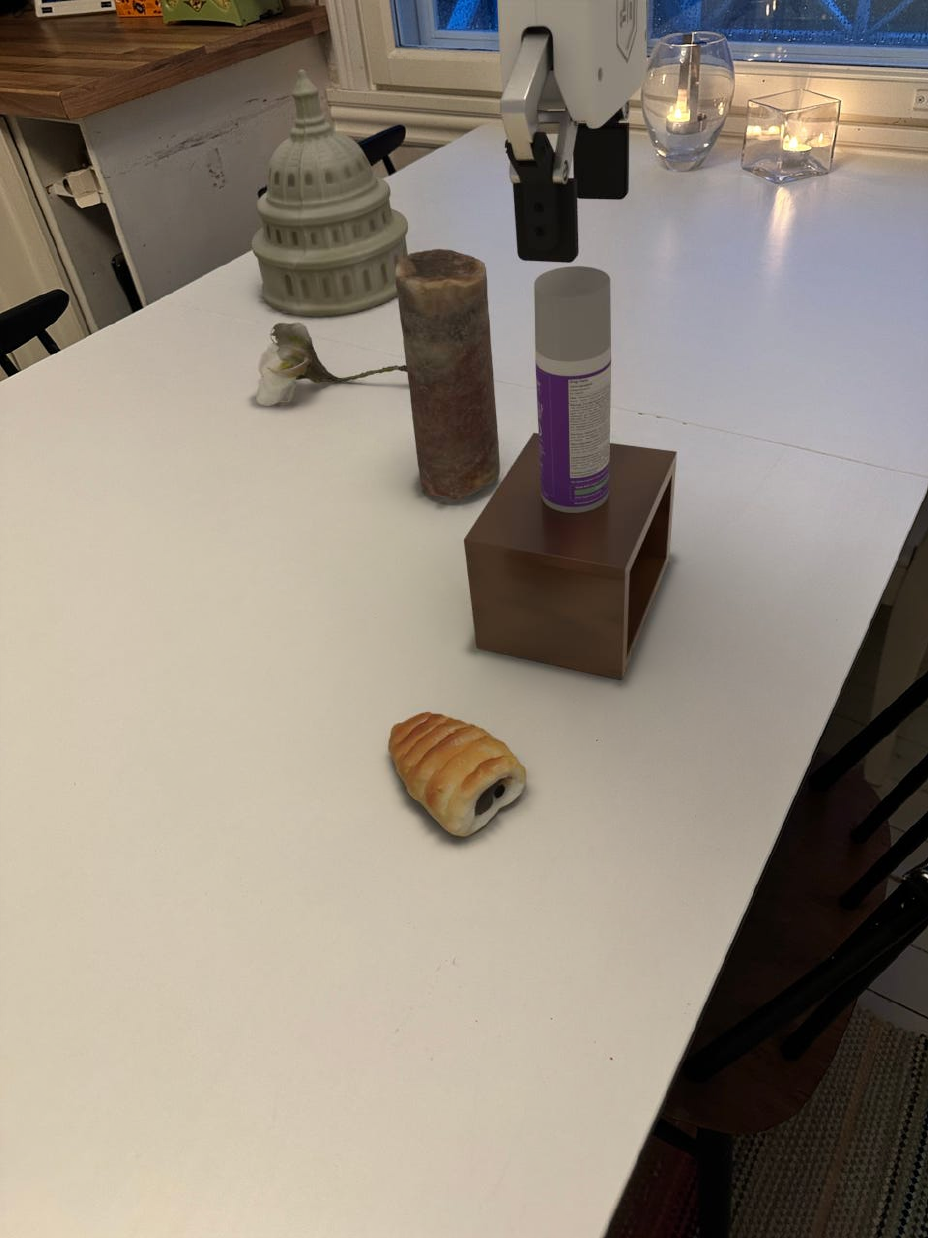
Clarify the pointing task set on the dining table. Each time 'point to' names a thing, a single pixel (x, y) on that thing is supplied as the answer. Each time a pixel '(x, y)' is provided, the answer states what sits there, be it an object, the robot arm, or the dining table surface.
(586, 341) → the container
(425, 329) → the brown rounded bar
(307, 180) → the dome
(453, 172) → the dining table surface
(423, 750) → the pastry
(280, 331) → the artificial flower
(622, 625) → the shelf
